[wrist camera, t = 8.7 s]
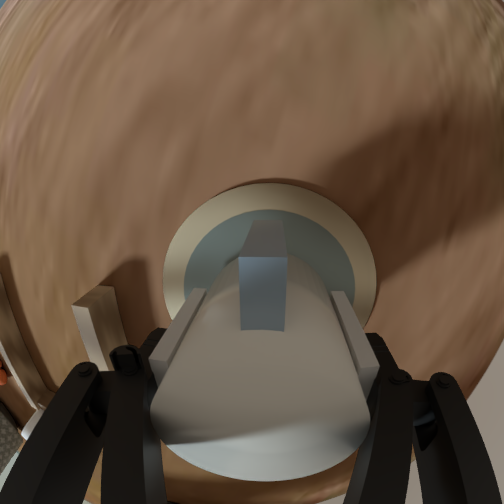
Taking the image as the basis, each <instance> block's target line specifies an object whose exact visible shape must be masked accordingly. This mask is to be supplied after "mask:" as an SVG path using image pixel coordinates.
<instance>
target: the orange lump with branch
mask: <svg viewBox="0 0 504 504" xmlns="http://www.w3.org/2000/svg"><path fill="white" fill-rule="evenodd" d="M1 366H2V363H1V360H0V385H1V386H2V385H4V384H6V383H7V375H6V372H5V371H4V369H2V368H1Z"/></svg>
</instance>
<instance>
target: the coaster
mask: <svg viewBox="0 0 504 504" xmlns="http://www.w3.org/2000/svg"><path fill="white" fill-rule="evenodd" d="M254 220H282V222H283V228H284V236H285V243H286V250H287V254H290V255H293V256H295V257H297V258H299V259H301V260H303V261H304V262H306V263H307V264H309V265H310V266H311V267H312V268H313V269H314V270H315V271H316V272H317V273H318V275H319V276H320V277H321V279H322V281H323V283H324V285H325V287H326V290H327V292H328V295H329V297H330V294H331V291H344V293H345V295H346V297H347V298H348V300H349V302H350V304H351V306H352V308H353V310H354V312H355V314H356V316H357V318H358V320H359V323H360V325H361V327H362V329H363V328H364V326H365V324H366V323H367V321H368V318H369V316H370V313H371V311H372V308H373V304H374V300H375V294H376V268H375V263H374V258H373V255H372V252H371V249H370V246H369V244H368V242H367V240H366V238H365V236H364V234H363V233H362V231H361V230H360V229H359V227H358V226H357V224H356V223H355V222H354V221H353V220H352V218H351V217H350V216H349V215H348V214H347V213H346V212H345V211H344V210H342V209H341V208H340V207H338V206H337V205H336V204H334V203H333V202H332V201H330V200H328V199H326V198H325V197H323V196H321V195H319V194H317V193H315V192H312V191H310V190H307V189H304V188H302V187H297V186H293V185H288V184H279V183H259V184H251V185H246V186H241V187H237V188H234V189H232V190H229V191H226V192H223V193H221V194H219V195H218V196H216V197H214V198H212V199H210V200H208V201H207V202H206V203H204V204H203V205H201V206H200V207H199V208H197V209H196V210H195V211H194V212H193V213H192V214H191V215H190V216H189V217H188V218H187V219H186V220H185V221H184V223H183V224H182V225H181V227H180V228H179V229H178V231H177V232H176V234H175V236H174V238H173V240H172V242H171V244H170V246H169V249H168V252H167V255H166V259H165V263H164V268H163V291H164V297H165V302H166V306H167V309H168V311H169V314H170V317H171V319H172V321H173V319H174V318H175V316H176V315H177V313H178V311H179V310H180V308H181V307H182V305H183V304H184V302H185V301H186V299H187V298H188V296H189V295H190V293H191V292H192V290H193V289H194V288H206V289H207V293H208V291H209V289H210V287H211V285H212V284H213V282H214V280H215V278H216V277H217V275H218V274H219V273H220V271H221V270H222V269H223V268H224V267H225V266H227V265H228V264H229V263H230V262H232V261H233V260H235V259H237V258H238V257H239V254H240V252H241V249H242V247H243V245H244V242H245V240H246V237H247V235H248V233H249V230H250V228H251V226H252V223H253V221H254Z"/></svg>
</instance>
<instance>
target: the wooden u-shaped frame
mask: <svg viewBox="0 0 504 504" xmlns="http://www.w3.org/2000/svg"><path fill="white" fill-rule="evenodd" d="M72 309H73V312H74V316H75V319H76V322H77V325H78V328H79V331H80V334H81V337H82V340H83V343H84V345H85V348H86V351H87V353H88V356H89V359H90V361H91V362H92V363H95V364H96V365H97V366H98V369H99V371H115V370H114V368H113V365H112V362H111V360H110V357H109V354H110V352H111V351H112V350H113V349H114V348H116V347H119V346H122V345H128V343H127V340H126V336H125V333H124V329H123V325H122V321H121V317H120V313H119V309H118V305H117V300H116V296H115V291H114V287H111V286H101V285H97V286H96V287H95V288H93V289H92V290H91V291H89V292H88V293H87V294H85V295H84V296H83V297H81V298H80V299H79V300H77V301H76V302H75V303H74V304H72ZM0 351H1V353H2V355H3V357H4V359H5V361H6V363H7V365H8V367H9V369H10V371H11V373H12V375H13V377H14V378H15V380H16V382H17V384H18V385H19V387H20V389H21V390H22V392H23V394H24V395H25V397H26V399H27V400H28V402H29V403H30V405H31V406H32V407H33V408H35V409H37V410H39V409H40V408H41V409H42V410H44V411H45V409H46V408H47V406H48V405H49V403H50V402H51V400H52V398H53V397H54V395H55V394H56V393H54V392H52V391H50V390H48V389H47V388H46V386H45V384H44V383H43V381H42V379H41V377H40V375H39V373H38V371H37V369H36V367H35V365H34V363H33V361H32V359H31V357H30V355H29V353H28V350H27V348H26V346H25V344H24V341H23V339H22V336H21V334H20V331H19V329H18V326H17V324H16V321H15V318H14V316H13V313H12V310H11V307H10V304H9V301H8V298H7V294H6V291H5V287H4V284H3V280H2V277H1V273H0Z"/></svg>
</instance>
